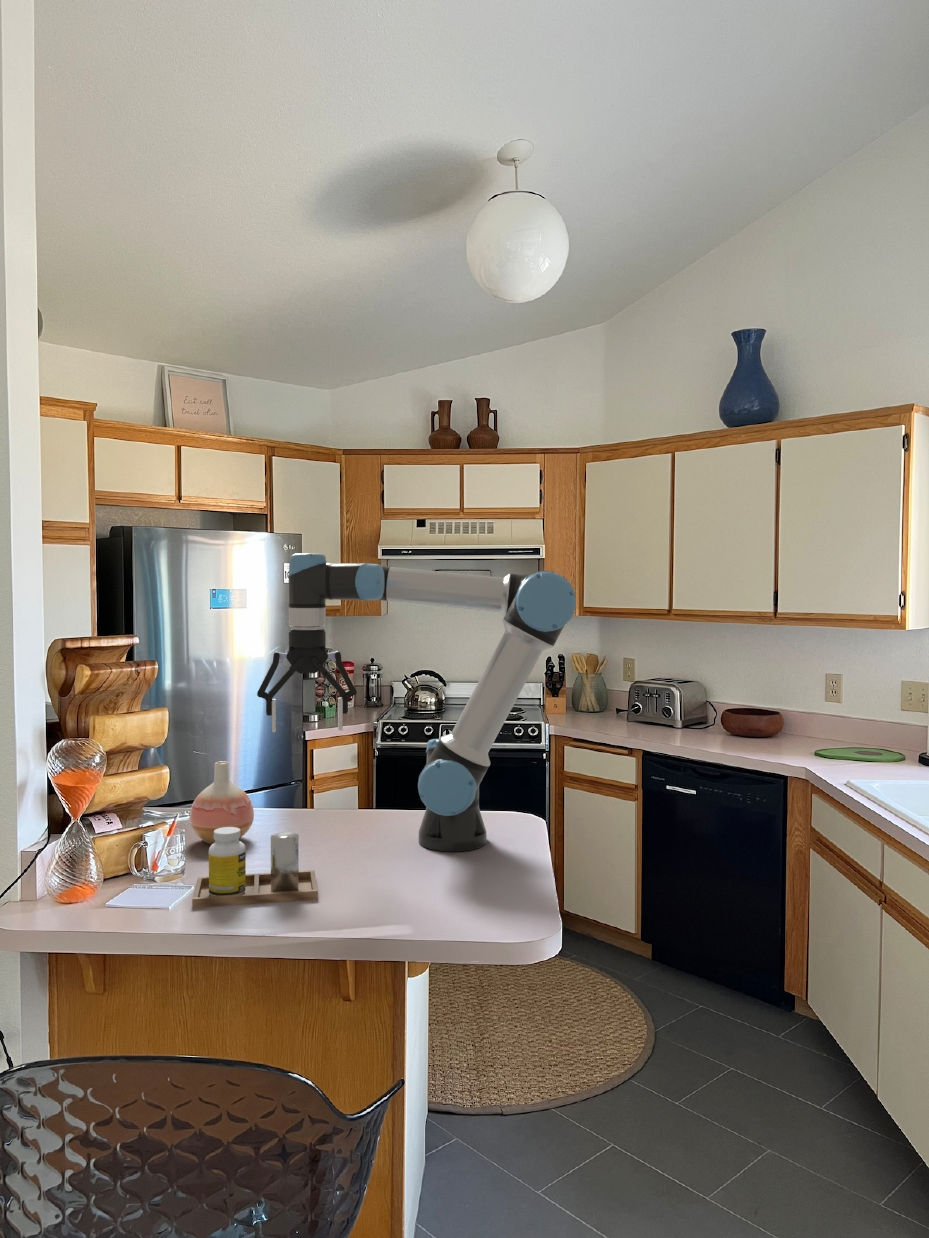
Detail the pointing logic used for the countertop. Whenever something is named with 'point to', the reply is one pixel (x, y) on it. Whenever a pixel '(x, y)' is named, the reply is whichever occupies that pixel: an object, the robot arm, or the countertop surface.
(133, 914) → the countertop surface
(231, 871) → the pill bottle
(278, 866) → the canister
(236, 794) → the vase
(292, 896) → the rack
